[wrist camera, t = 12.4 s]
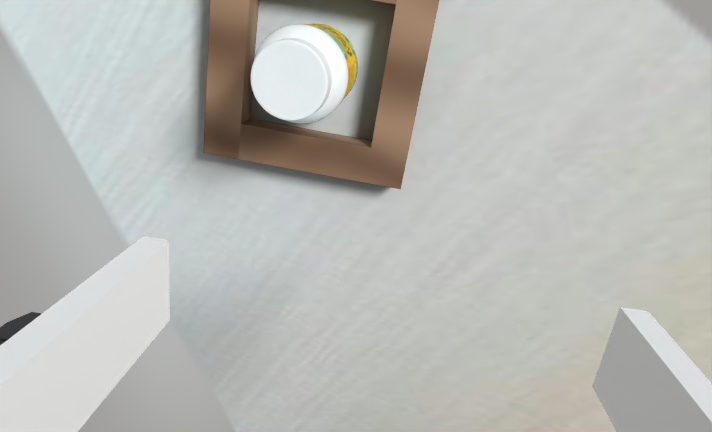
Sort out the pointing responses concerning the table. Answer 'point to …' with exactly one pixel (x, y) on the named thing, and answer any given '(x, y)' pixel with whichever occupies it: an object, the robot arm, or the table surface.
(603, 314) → the table surface
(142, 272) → the robot arm
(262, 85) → the supplement bottle
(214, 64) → the holder frame
